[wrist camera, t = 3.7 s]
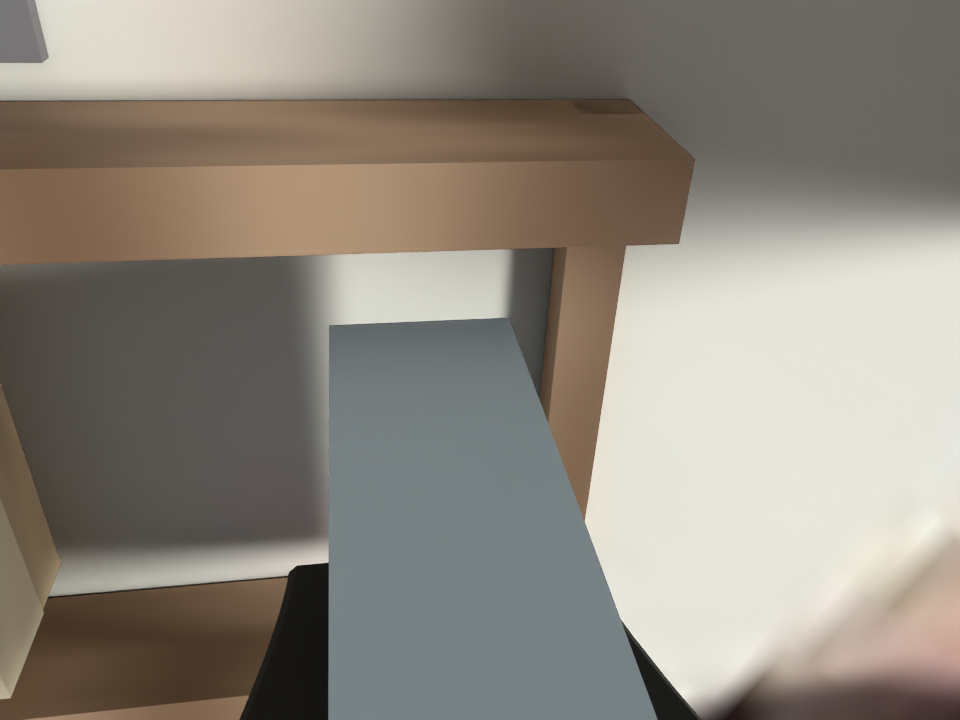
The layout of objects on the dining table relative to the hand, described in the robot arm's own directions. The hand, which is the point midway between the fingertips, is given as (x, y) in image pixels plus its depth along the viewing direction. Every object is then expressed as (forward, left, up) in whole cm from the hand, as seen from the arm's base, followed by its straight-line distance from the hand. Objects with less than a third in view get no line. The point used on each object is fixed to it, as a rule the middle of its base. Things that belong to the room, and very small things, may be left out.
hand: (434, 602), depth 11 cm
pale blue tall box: (0, 0, -2) cm, 2 cm away
